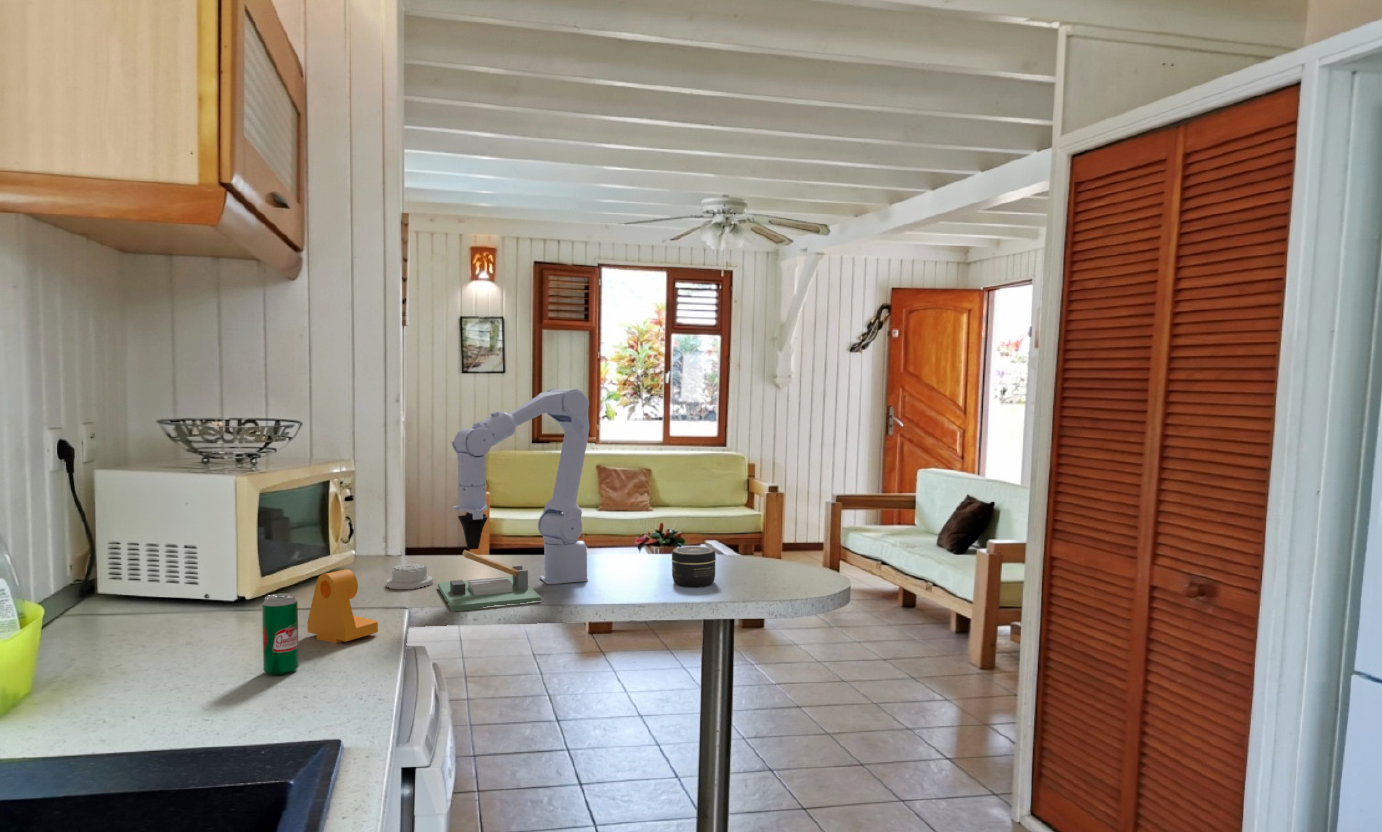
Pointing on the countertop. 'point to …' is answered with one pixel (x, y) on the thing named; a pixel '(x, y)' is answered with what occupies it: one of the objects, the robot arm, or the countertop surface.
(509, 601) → the board
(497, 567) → the orange brown flat bar
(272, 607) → the soda can
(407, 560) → the countertop surface
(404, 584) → the mechanical component
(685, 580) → the jar
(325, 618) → the bracket
